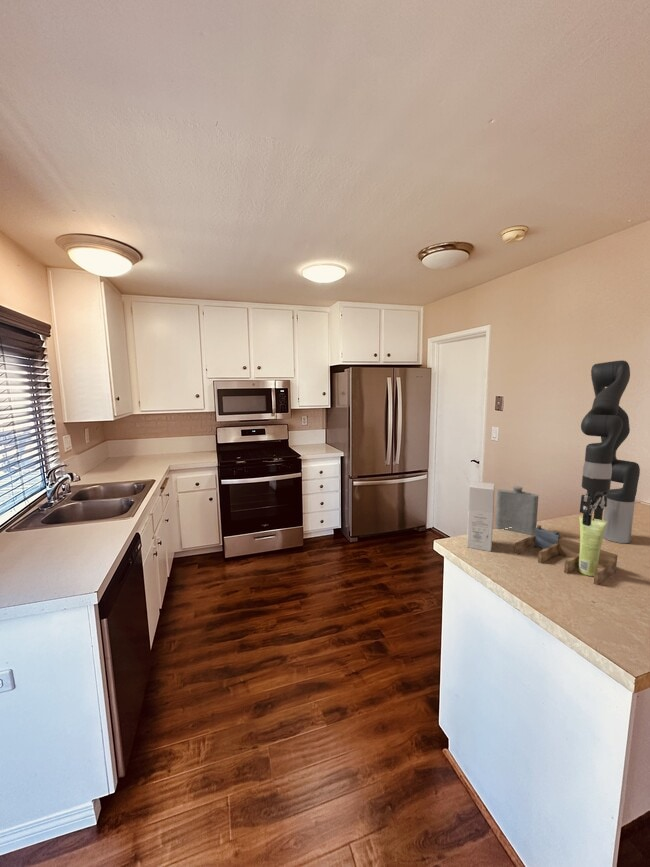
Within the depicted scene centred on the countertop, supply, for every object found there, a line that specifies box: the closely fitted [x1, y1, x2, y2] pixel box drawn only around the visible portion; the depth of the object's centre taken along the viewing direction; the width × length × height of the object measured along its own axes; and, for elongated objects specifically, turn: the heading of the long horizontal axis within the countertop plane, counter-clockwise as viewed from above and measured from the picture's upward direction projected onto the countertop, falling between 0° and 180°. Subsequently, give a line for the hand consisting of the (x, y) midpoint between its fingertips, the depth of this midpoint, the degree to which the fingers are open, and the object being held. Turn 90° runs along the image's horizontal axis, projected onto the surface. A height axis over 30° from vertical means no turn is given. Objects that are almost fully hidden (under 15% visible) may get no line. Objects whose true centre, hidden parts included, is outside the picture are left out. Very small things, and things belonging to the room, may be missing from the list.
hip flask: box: [494, 485, 539, 536], centre depth 155 cm, size 16×4×20 cm, turn 56°
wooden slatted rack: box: [514, 524, 618, 586], centre depth 128 cm, size 15×27×8 cm, turn 33°
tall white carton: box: [466, 481, 496, 552], centre depth 141 cm, size 9×9×25 cm
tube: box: [578, 515, 607, 577], centre depth 119 cm, size 6×5×20 cm
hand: (592, 522), depth 118 cm, fingers open, 8 cm apart
